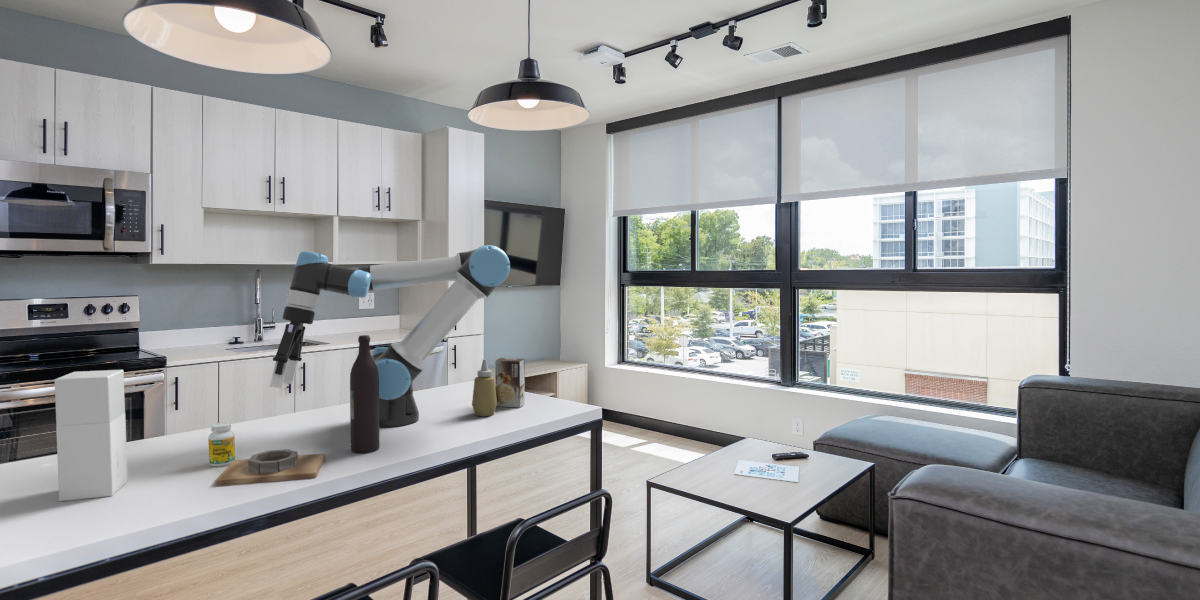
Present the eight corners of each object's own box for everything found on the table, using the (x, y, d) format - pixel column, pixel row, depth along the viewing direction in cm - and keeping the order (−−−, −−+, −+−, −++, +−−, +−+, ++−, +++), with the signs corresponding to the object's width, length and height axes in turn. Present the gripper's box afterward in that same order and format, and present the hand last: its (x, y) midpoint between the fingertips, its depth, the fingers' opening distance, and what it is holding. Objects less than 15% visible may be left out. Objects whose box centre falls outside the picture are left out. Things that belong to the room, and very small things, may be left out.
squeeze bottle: (494, 417, 190) (494, 362, 189) (469, 417, 190) (469, 361, 189) (499, 411, 198) (499, 357, 197) (474, 411, 198) (475, 357, 197)
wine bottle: (366, 443, 161) (365, 333, 159) (385, 447, 158) (384, 335, 156) (344, 451, 155) (343, 336, 153) (364, 455, 152) (363, 338, 150)
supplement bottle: (234, 458, 148) (234, 420, 147) (235, 464, 143) (234, 425, 143) (209, 462, 145) (207, 423, 144) (209, 468, 140) (208, 428, 140)
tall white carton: (112, 496, 123) (108, 376, 122) (58, 501, 120) (53, 379, 118) (128, 481, 131) (124, 369, 130) (78, 486, 128) (73, 371, 127)
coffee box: (525, 403, 210) (525, 358, 209) (520, 407, 203) (520, 361, 202) (500, 402, 211) (500, 357, 210) (494, 406, 205) (494, 360, 204)
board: (324, 458, 149) (324, 444, 149) (315, 477, 136) (315, 462, 135) (234, 464, 143) (233, 450, 143) (215, 486, 130) (214, 469, 129)
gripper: (294, 307, 173) (276, 379, 171) (275, 302, 149) (253, 386, 147) (322, 312, 175) (304, 384, 173) (307, 308, 152) (286, 391, 149)
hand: (281, 385), depth 160 cm, fingers open, 13 cm apart
